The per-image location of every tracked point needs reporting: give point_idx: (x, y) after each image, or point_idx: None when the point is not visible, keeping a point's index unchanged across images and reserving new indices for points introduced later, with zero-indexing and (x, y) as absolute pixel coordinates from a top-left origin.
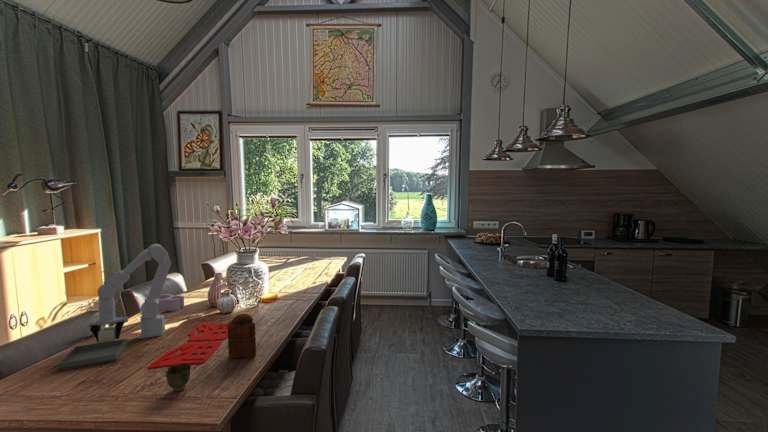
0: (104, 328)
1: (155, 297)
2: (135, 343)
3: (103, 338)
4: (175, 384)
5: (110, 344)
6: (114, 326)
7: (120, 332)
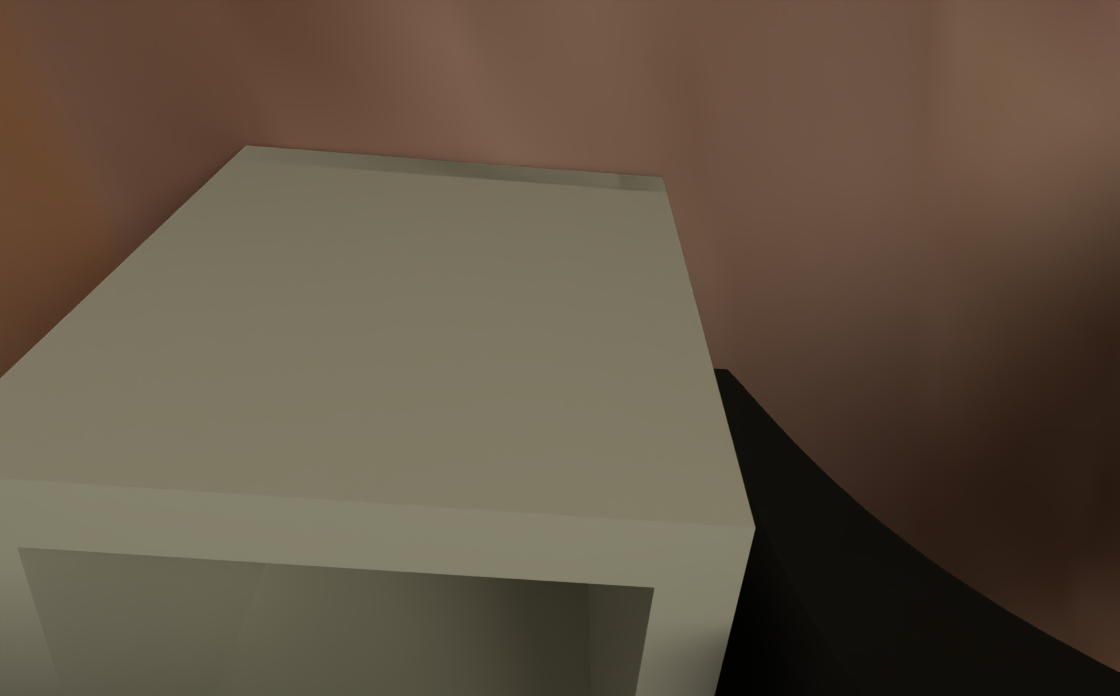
0: (79, 520)
1: None
2: (1052, 603)
3: (334, 669)
4: None
5: None
6: (589, 576)
7: (801, 457)
